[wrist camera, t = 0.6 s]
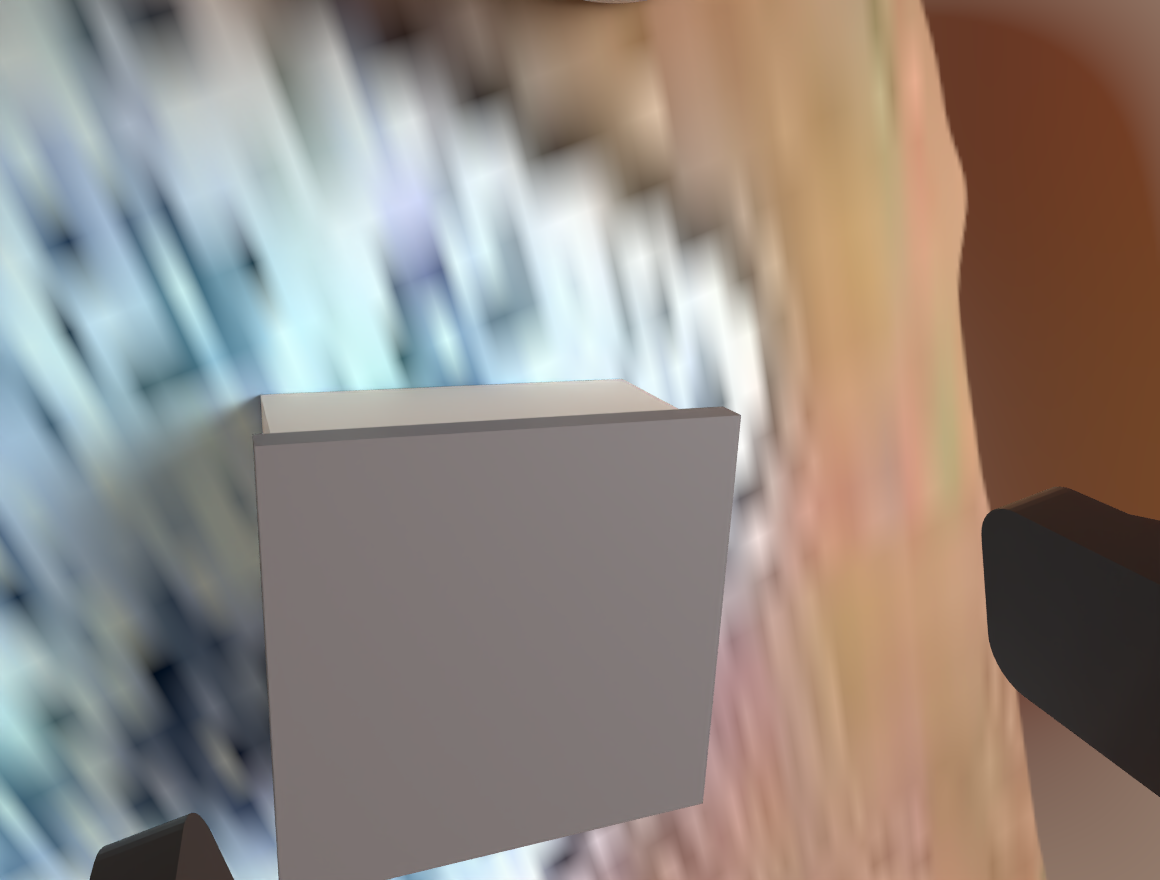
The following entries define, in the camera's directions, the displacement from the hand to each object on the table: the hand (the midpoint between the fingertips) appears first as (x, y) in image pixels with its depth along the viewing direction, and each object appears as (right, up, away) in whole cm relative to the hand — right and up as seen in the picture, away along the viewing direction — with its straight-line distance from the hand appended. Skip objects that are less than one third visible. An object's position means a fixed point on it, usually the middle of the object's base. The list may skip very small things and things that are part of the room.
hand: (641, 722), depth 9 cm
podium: (-5, -1, +23) cm, 23 cm away
